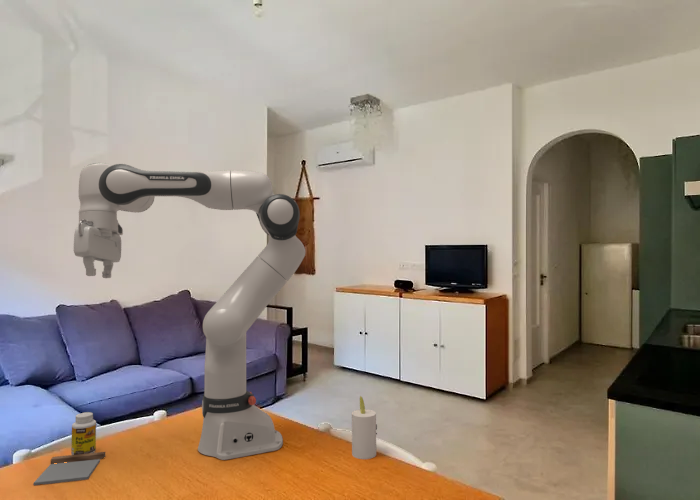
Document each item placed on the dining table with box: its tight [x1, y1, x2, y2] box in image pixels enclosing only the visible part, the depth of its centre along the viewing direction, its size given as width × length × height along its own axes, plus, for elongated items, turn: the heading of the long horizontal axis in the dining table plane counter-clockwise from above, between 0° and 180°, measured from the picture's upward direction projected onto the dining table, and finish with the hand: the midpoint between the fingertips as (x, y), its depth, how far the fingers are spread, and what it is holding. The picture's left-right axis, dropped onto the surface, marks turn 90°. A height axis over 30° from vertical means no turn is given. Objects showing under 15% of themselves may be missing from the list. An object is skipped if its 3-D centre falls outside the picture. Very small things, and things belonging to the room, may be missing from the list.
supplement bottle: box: [70, 411, 97, 455], centre depth 120 cm, size 6×6×10 cm
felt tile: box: [32, 459, 101, 486], centre depth 109 cm, size 11×10×1 cm
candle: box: [351, 395, 378, 460], centre depth 119 cm, size 6×6×15 cm
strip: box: [50, 451, 106, 464], centre depth 116 cm, size 12×2×1 cm, turn 105°
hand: (99, 277), depth 119 cm, fingers open, 8 cm apart
